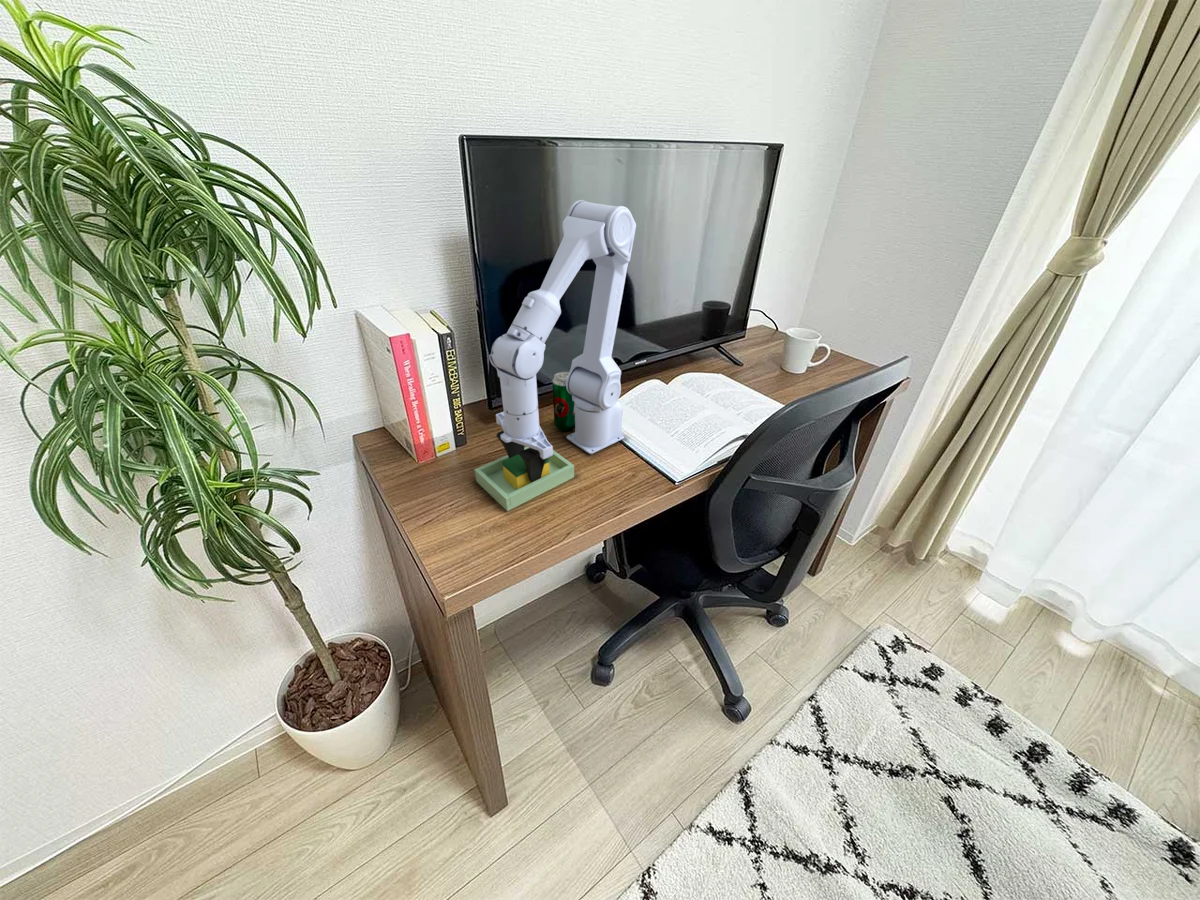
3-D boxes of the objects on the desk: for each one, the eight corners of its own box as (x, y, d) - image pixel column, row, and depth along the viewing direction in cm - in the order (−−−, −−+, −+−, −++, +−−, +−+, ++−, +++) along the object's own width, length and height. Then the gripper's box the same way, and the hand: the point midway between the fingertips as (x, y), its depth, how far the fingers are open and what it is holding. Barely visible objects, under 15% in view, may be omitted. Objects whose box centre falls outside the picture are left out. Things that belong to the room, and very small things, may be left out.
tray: (541, 451, 95) (540, 440, 93) (574, 477, 88) (574, 465, 87) (476, 481, 87) (474, 469, 85) (507, 511, 80) (505, 498, 79)
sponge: (535, 464, 90) (534, 446, 88) (549, 475, 87) (549, 457, 85) (504, 478, 86) (502, 461, 84) (517, 491, 83) (516, 473, 81)
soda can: (579, 431, 101) (579, 380, 94) (556, 433, 100) (553, 382, 93) (575, 418, 105) (574, 369, 98) (552, 421, 104) (550, 371, 97)
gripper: (477, 397, 80) (486, 461, 88) (525, 433, 71) (530, 501, 79) (512, 385, 84) (518, 448, 92) (562, 418, 75) (564, 484, 83)
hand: (526, 471), depth 86 cm, fingers open, 5 cm apart
